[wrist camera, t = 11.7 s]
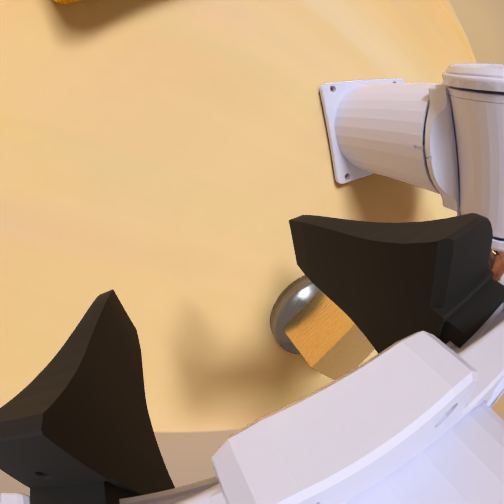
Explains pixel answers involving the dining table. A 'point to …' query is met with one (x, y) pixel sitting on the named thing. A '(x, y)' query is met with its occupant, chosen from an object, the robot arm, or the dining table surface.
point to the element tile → (65, 1)
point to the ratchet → (290, 309)
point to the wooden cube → (327, 337)
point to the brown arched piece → (496, 264)
